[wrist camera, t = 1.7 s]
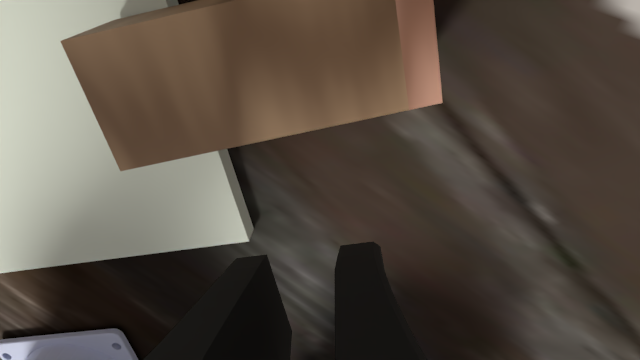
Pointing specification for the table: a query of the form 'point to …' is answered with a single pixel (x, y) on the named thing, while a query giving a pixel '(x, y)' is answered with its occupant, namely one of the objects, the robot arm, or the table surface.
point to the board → (91, 158)
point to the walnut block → (251, 71)
